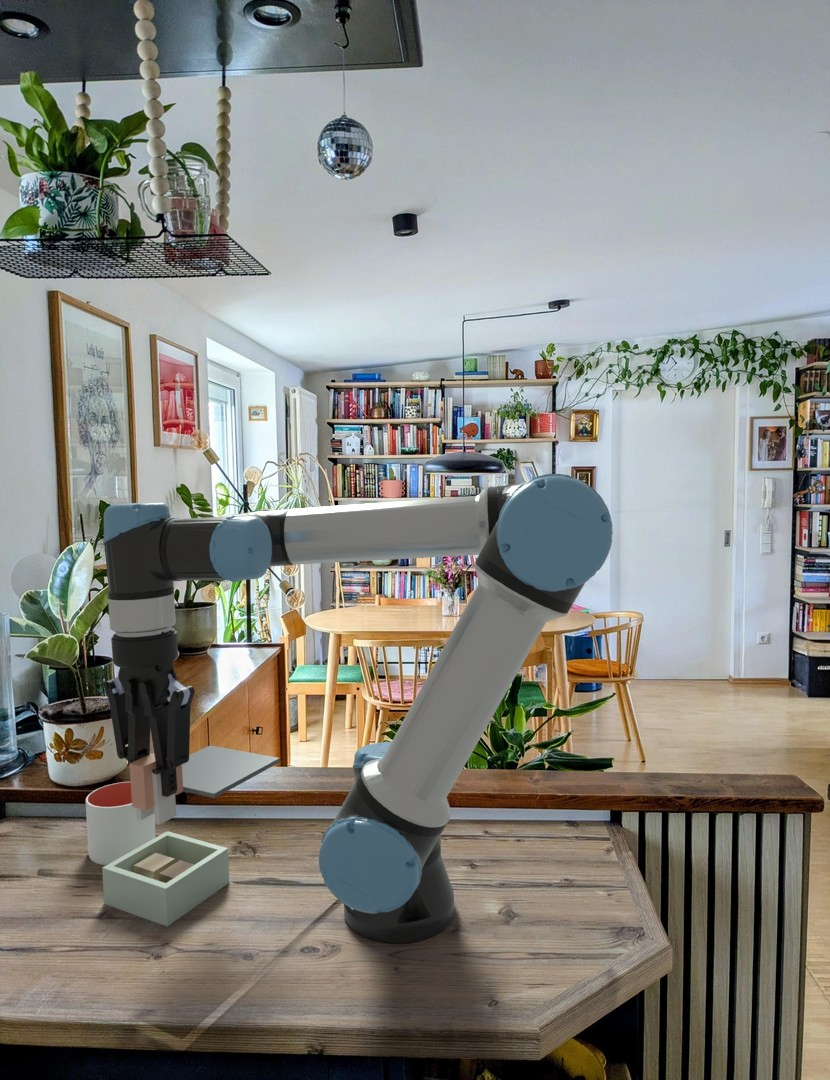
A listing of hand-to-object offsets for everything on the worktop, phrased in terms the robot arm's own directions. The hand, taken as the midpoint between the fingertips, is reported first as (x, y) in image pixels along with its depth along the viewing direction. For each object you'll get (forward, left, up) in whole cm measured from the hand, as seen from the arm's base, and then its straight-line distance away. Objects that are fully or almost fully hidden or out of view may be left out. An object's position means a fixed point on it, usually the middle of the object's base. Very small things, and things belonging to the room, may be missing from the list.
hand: (156, 816), depth 94 cm
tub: (+9, -10, -18) cm, 22 cm away
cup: (+25, -16, -18) cm, 35 cm away
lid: (0, -7, +1) cm, 7 cm away
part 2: (+6, -10, -17) cm, 21 cm away
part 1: (+11, -10, -17) cm, 23 cm away
